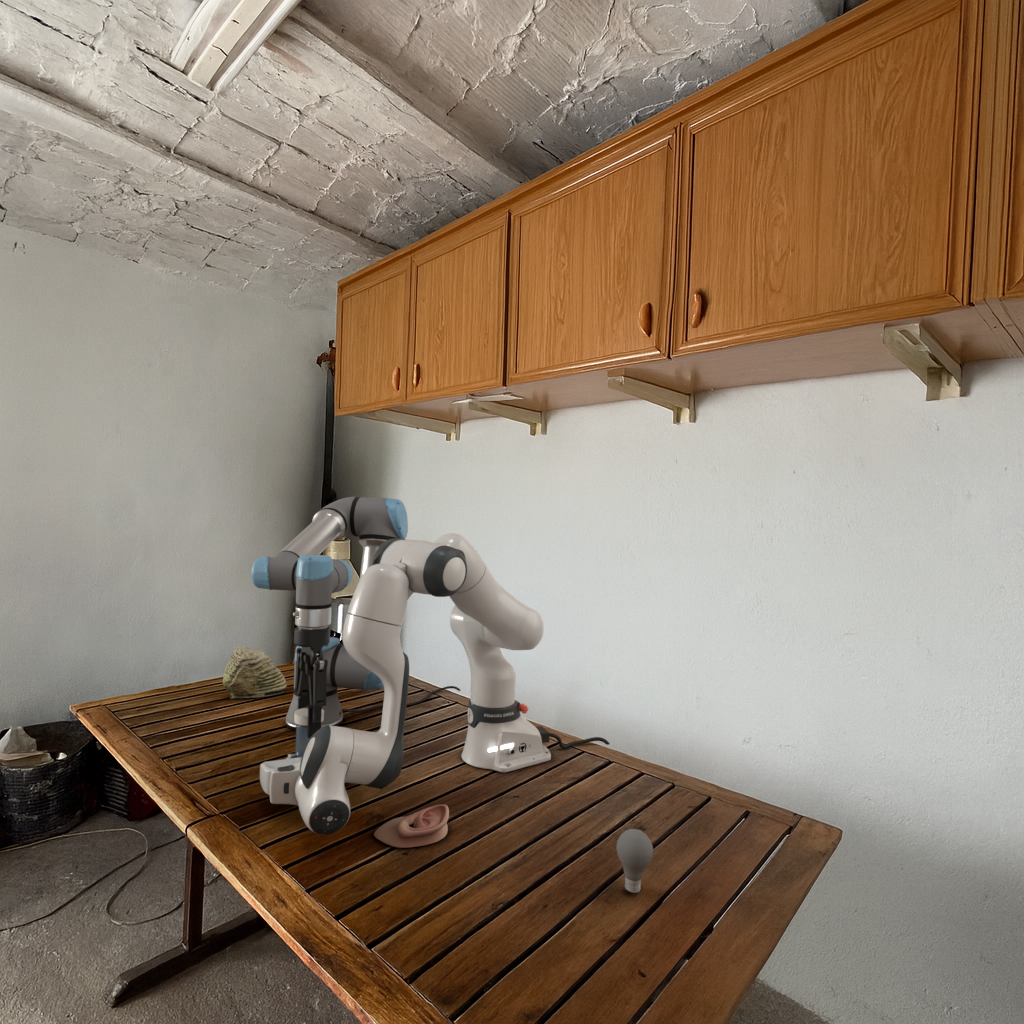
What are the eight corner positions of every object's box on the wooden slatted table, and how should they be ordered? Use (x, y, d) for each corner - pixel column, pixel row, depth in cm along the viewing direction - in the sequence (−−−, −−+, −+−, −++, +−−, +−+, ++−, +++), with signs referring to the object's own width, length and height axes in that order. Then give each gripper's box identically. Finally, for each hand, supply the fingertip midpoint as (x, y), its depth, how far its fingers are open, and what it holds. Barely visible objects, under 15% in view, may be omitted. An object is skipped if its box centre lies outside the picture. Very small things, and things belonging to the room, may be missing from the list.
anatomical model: (367, 821, 116) (391, 793, 128) (366, 843, 116) (391, 813, 128) (436, 832, 114) (455, 803, 125) (435, 854, 114) (454, 822, 125)
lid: (290, 718, 140) (291, 709, 140) (318, 714, 143) (319, 705, 143) (298, 727, 134) (298, 718, 134) (327, 722, 138) (327, 713, 138)
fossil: (218, 695, 195) (220, 647, 195) (278, 685, 208) (279, 640, 207) (228, 703, 189) (230, 653, 188) (289, 692, 201) (290, 645, 201)
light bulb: (610, 879, 108) (613, 822, 108) (644, 879, 109) (647, 822, 109) (619, 902, 102) (622, 840, 102) (655, 901, 103) (658, 840, 103)
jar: (315, 777, 143) (318, 709, 142) (321, 787, 138) (324, 717, 138) (291, 782, 140) (294, 712, 140) (296, 792, 135) (299, 720, 135)
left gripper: (282, 619, 144) (278, 720, 144) (309, 636, 128) (305, 749, 129) (315, 617, 148) (311, 715, 149) (345, 633, 133) (341, 742, 133)
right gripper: (368, 758, 132) (354, 735, 144) (263, 773, 123) (258, 746, 135) (367, 788, 132) (353, 762, 144) (262, 805, 123) (257, 776, 135)
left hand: (308, 730), depth 139 cm, fingers closed on lid, 6 cm apart
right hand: (306, 755), depth 140 cm, fingers closed on jar, 5 cm apart
